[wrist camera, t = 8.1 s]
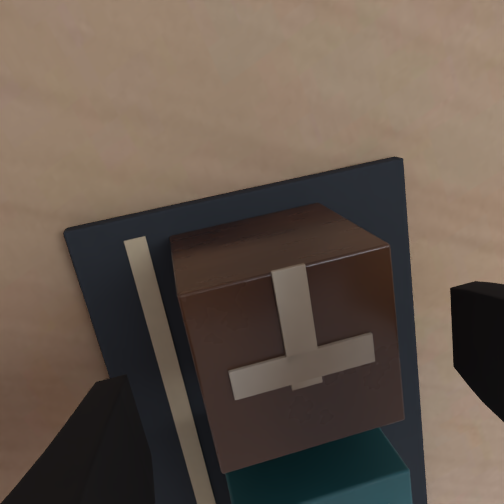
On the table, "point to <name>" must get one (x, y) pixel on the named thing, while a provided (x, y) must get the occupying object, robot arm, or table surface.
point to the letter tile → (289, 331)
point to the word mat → (172, 326)
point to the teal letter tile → (328, 475)
